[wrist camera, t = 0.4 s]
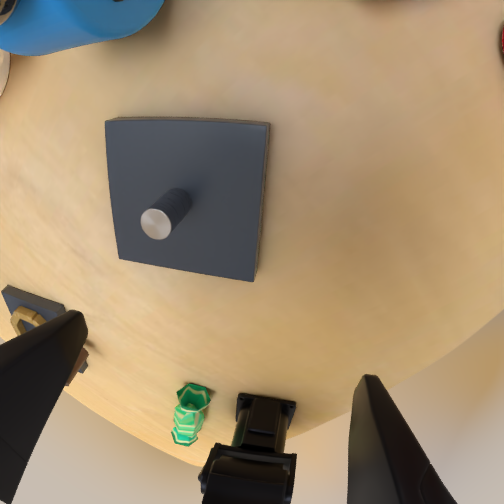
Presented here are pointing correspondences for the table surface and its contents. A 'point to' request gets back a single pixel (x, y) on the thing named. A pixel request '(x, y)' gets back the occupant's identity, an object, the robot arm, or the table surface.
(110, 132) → the near stand
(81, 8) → the alarm clock
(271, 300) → the table surface
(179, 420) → the candy
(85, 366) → the far stand
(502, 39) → the beverage can
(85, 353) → the ring
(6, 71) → the mug
